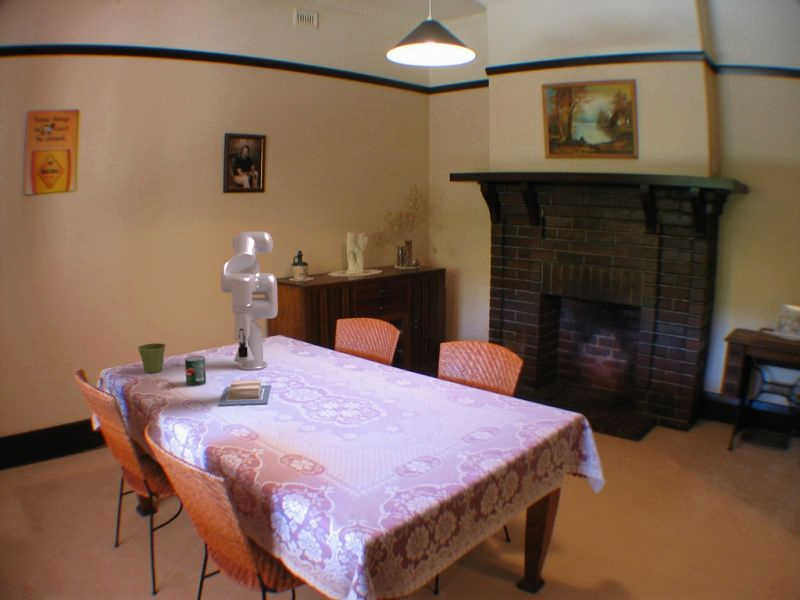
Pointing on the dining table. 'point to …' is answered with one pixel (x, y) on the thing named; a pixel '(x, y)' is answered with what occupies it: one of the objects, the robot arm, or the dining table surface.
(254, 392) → the birch plinth
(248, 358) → the flask
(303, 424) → the dining table surface
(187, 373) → the canned tomato
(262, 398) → the board
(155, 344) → the plant pot
